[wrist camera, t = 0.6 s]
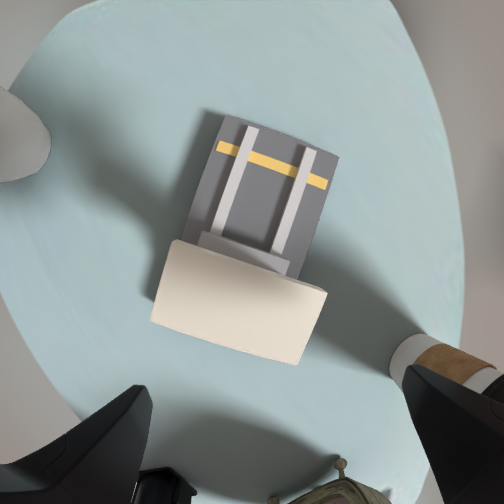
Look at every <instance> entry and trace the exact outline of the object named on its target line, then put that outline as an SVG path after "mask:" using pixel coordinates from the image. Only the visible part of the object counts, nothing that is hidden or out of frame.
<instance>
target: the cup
mask: <svg viewBox="0 0 504 504" xmlns="http://www.w3.org/2000/svg"><path fill="white" fill-rule="evenodd" d="M50 149H51V136H50V133H49V131H48V129H47V128H46V126H45V125H44V124H43V122H42V121H41V119H40V118H39V117H38V115H36V114H35V113H34V112H33V111H32V110H31V109H30V108H29V107H28V106H27V105H25V104H24V103H23V102H22V101H21V100H20V99H19V98H17V97H16V96H14V95H13V94H11V93H10V92H8V91H7V90H5V89H4V88H2V87H0V183H1V182H8V181H15V180H18V179H21V178H24V177H26V176H29V175H32V174H35V173H36V172H38V171H39V170H40V169H41V168H42V167H43V165H44V164H45V162H46V160H47V158H48V156H49V153H50Z"/></svg>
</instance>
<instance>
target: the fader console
mask: <svg viewBox="0 0 504 504" xmlns="http://www.w3.org/2000/svg"><path fill="white" fill-rule="evenodd" d="M338 159H339V157H338V156H336V155H334V154H332V153H329V152H327V151H325V150H322V149H320V148H318V147H315V146H313V145H310V144H308V143H305V142H303V141H300V140H298V139H295V138H293V137H290V136H288V135H285V134H282V133H280V132H277V131H274V130H271V129H268V128H266V127H263V126H260V125H257V124H254V123H251V122H248V121H245V120H242V119H239V118H235V117H232V116H229V115H226V116H225V118H224V120H223V123H222V125H221V128H220V130H219V133H218V135H217V138H216V140H215V143H214V145H213V148H212V150H211V153H210V156H209V158H208V161H207V164H206V166H205V169H204V172H203V174H202V177H201V180H200V183H199V185H198V188H197V191H196V194H195V197H194V200H193V202H192V205H191V208H190V211H189V214H188V217H187V220H186V223H185V226H184V229H183V233H182V236H181V239H180V241H183V242H186V243H189V244H192V245H195V246H197V245H198V242H199V239H200V236H201V233H202V231H203V230H205V231H208V232H211V233H214V234H217V235H219V236H222V237H225V238H228V239H231V240H234V241H237V242H240V243H243V244H246V245H249V246H252V247H255V248H258V249H260V250H263V251H266V252H269V253H272V254H275V255H278V256H281V257H284V258H287V259H288V260H289V261H290V263H289V266H288V269H287V271H286V274H285V276H287V277H290V278H293V279H296V280H297V279H298V277H299V274H300V271H301V269H302V266H303V263H304V261H305V258H306V255H307V252H308V250H309V247H310V244H311V241H312V238H313V235H314V233H315V230H316V227H317V224H318V221H319V218H320V215H321V212H322V209H323V206H324V203H325V200H326V197H327V194H328V191H329V188H330V185H331V182H332V179H333V175H334V172H335V169H336V166H337V163H338Z"/></svg>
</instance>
